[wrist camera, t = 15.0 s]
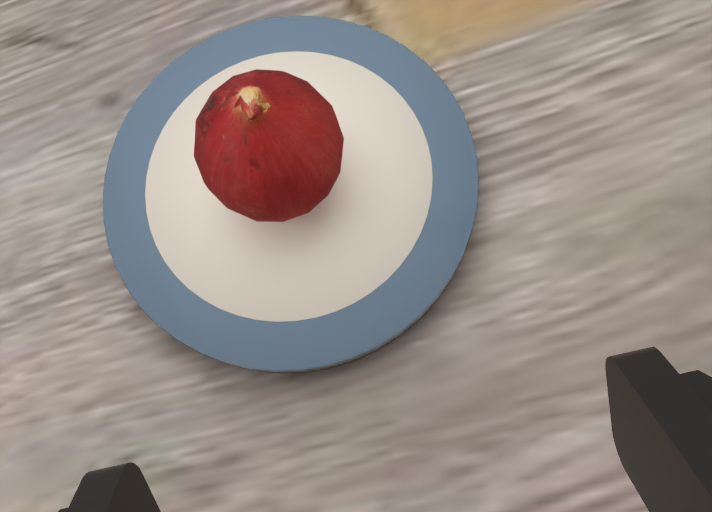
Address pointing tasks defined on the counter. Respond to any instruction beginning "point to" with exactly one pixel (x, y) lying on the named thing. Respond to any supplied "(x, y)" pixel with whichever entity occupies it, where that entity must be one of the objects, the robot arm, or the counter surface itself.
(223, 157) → the onion
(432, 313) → the counter surface
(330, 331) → the dish
